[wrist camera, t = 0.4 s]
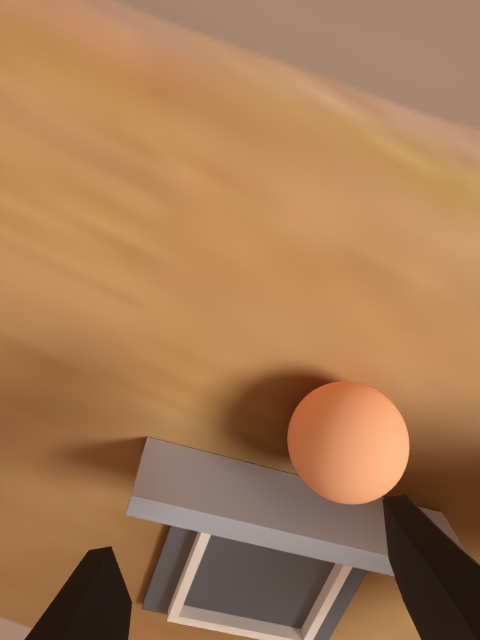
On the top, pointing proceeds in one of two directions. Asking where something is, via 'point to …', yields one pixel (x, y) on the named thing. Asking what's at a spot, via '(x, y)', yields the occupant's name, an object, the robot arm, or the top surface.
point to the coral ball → (348, 442)
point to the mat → (248, 588)
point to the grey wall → (260, 507)
